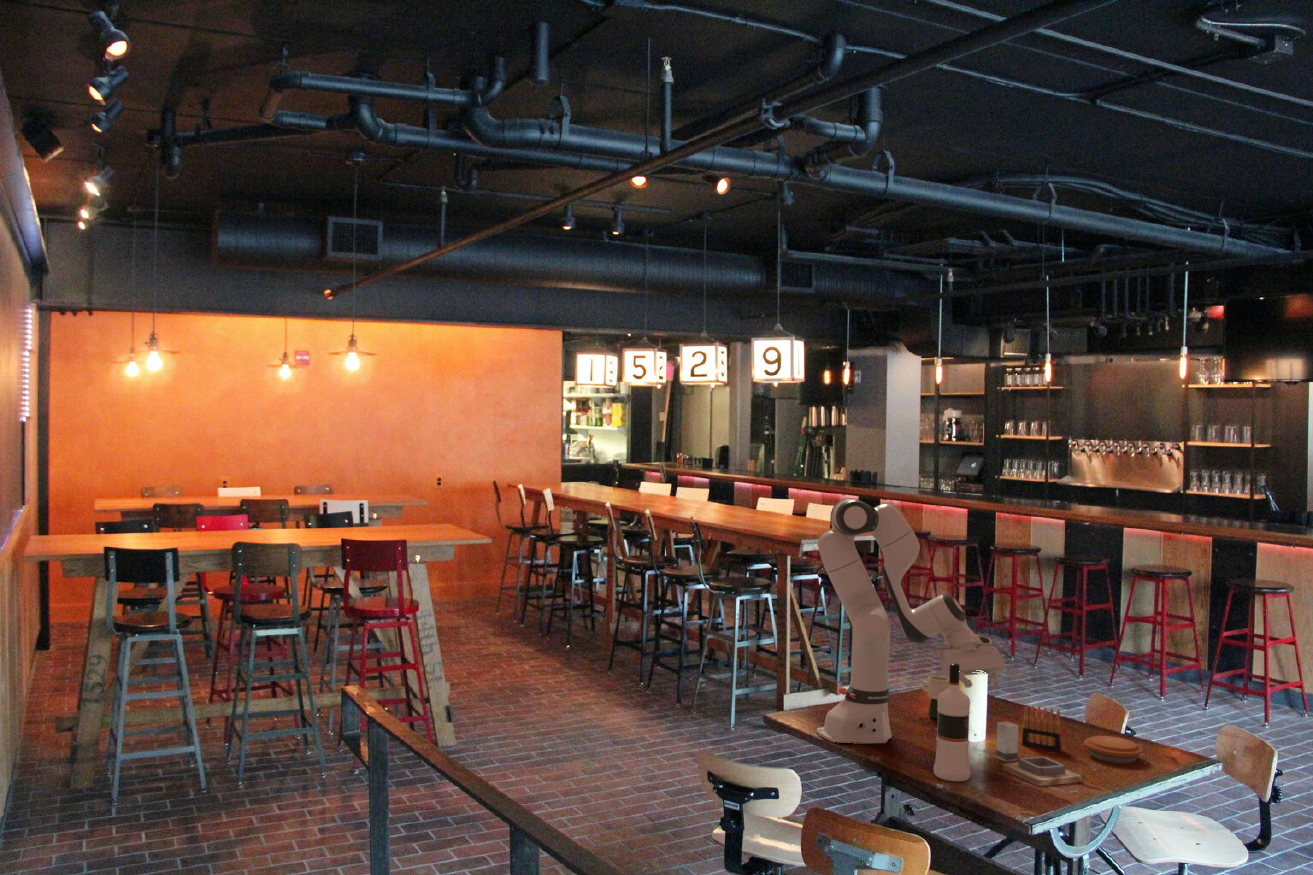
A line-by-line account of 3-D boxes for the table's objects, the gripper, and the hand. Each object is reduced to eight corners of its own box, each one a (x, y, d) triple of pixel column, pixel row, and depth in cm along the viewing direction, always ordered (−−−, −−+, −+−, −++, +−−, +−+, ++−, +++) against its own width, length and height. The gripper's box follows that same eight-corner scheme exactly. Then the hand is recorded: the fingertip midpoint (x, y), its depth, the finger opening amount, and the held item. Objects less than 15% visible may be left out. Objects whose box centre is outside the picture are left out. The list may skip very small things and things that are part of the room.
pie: (1136, 752, 291) (1137, 735, 291) (1147, 769, 276) (1148, 751, 276) (1079, 747, 295) (1080, 730, 295) (1087, 762, 280) (1088, 744, 280)
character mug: (958, 718, 322) (959, 678, 322) (951, 723, 316) (953, 682, 316) (925, 712, 328) (926, 673, 328) (918, 717, 322) (919, 677, 322)
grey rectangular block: (1005, 762, 278) (1006, 726, 278) (996, 757, 282) (996, 722, 282) (1017, 761, 279) (1018, 725, 279) (1007, 756, 283) (1008, 721, 283)
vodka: (929, 770, 268) (932, 659, 268) (964, 771, 268) (967, 660, 268) (938, 782, 259) (942, 666, 259) (974, 783, 259) (977, 667, 259)
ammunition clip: (1021, 744, 295) (1022, 704, 295) (1023, 743, 297) (1024, 703, 297) (1060, 751, 289) (1061, 710, 289) (1061, 750, 291) (1062, 709, 291)
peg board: (1038, 786, 258) (1038, 772, 258) (1002, 769, 271) (1003, 756, 271) (1081, 781, 263) (1081, 768, 263) (1044, 765, 276) (1044, 752, 276)
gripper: (938, 641, 295) (957, 681, 286) (995, 638, 302) (1016, 677, 292) (928, 653, 299) (948, 693, 290) (985, 650, 306) (1006, 689, 297)
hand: (982, 685), depth 291 cm, fingers open, 8 cm apart
